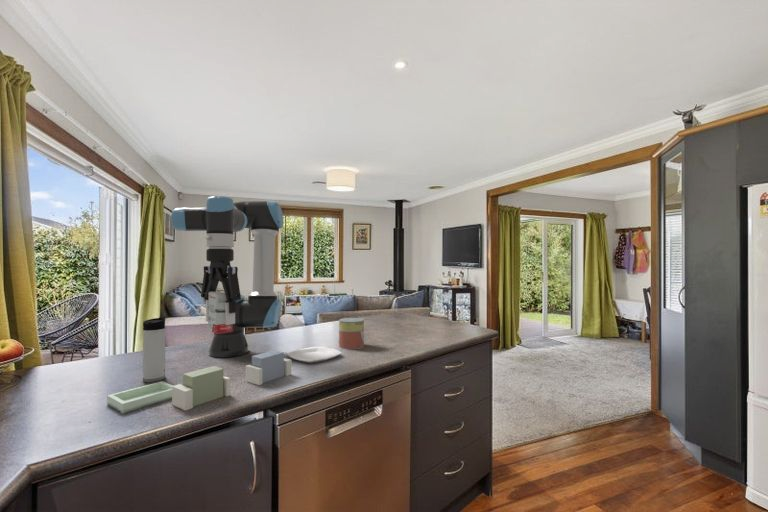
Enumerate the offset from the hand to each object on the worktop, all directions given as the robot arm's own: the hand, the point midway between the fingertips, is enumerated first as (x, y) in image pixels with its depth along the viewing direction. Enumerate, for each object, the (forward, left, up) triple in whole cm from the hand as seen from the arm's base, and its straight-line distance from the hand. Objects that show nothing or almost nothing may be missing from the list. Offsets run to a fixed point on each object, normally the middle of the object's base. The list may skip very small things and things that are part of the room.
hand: (220, 322), depth 111 cm
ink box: (0, 0, -3) cm, 3 cm away
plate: (-3, +42, -21) cm, 47 cm away
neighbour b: (+3, +15, -21) cm, 26 cm away
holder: (+3, +4, -21) cm, 21 cm away
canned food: (-2, +64, -21) cm, 68 cm away
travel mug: (-27, -7, -21) cm, 35 cm away
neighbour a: (+3, -7, -21) cm, 22 cm away
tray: (-10, -17, -21) cm, 28 cm away
